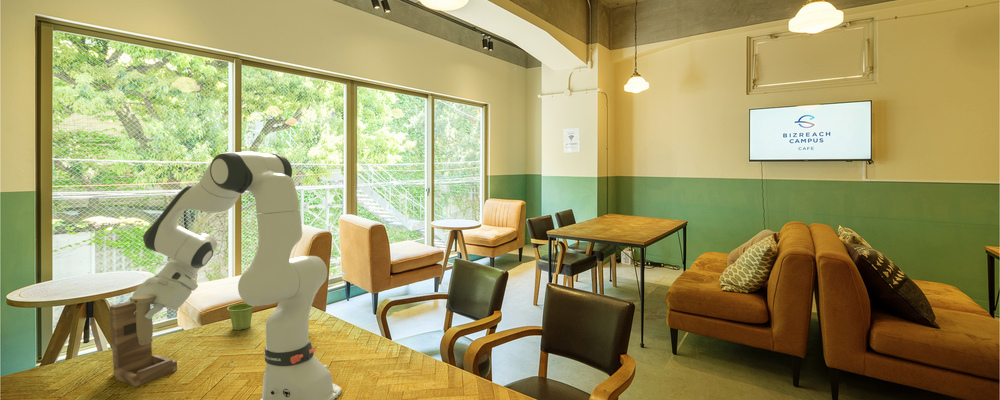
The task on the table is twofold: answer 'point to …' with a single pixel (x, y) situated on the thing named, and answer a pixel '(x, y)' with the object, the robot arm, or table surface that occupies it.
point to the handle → (142, 323)
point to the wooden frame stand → (133, 349)
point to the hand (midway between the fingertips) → (141, 316)
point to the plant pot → (240, 315)
